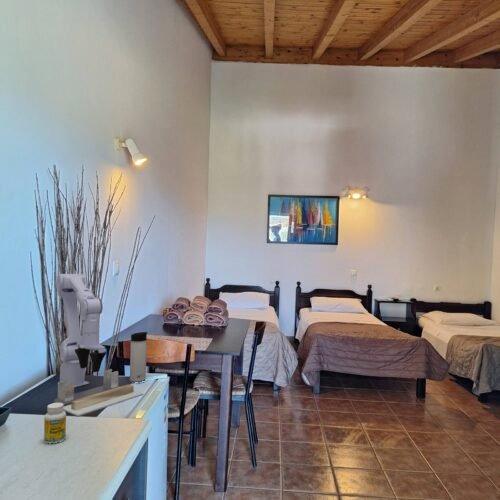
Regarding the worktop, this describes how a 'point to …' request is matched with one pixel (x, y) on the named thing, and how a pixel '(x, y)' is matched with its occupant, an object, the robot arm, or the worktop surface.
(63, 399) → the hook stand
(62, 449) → the worktop surface
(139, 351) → the travel mug
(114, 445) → the worktop surface
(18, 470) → the worktop surface
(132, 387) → the rail
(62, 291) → the robot arm
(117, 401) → the mat
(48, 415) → the supplement bottle
